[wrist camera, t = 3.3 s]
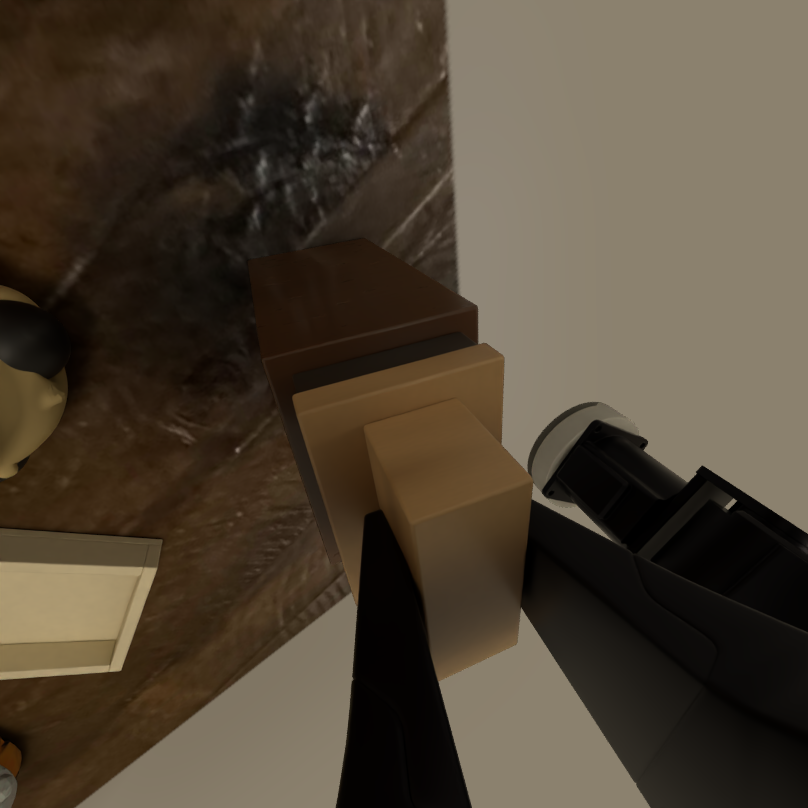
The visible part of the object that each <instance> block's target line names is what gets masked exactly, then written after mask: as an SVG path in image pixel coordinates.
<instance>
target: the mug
mask: <svg viewBox="0 0 808 808" xmlns="http://www.w3.org/2000/svg"><path fill="white" fill-rule="evenodd" d="M21 760H22V755H21V751H20V750H19V749H18V748H17V747H16V746H15V745H14V744H12V743H11V742H9V741H5V742H4V741H3V740H2V739H1V737H0V808H11V806H12V804H13V801H14V799H15V796H16V791H17V781H16V777H17V775H18V773H19V769H20V767H21V765H22V763H21Z"/></svg>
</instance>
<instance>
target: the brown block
mask: <svg viewBox="0 0 808 808" xmlns="http://www.w3.org/2000/svg"><path fill="white" fill-rule="evenodd" d="M247 263H248V270H249V277H250V285H251V292H252V299H253V306H254V313H255V320H256V327H257V334H258V341H259V348H260V355H261V361H262V364H263V367H264V370H265V373H266V376H267V379H268V382H269V385H270V388H271V391H272V394H273V397H274V400H275V402H276V405H277V408H278V411H279V414H280V417H281V420H282V423H283V426H284V429H285V432H286V435H287V438H288V441H289V443H290V446H291V449H292V452H293V455H294V458H295V461H296V464H297V467H298V470H299V473H300V476H301V479H302V481H303V484H304V487H305V490H306V493H307V496H308V499H309V502H310V505H311V508H312V511H313V514H314V517H315V520H316V522H317V525H318V528H319V531H320V534H321V537H322V540H323V543H324V546H325V549H326V552H327V555H328V558H329V561H330V563H331V564H332V565H335V564H337V563H340V562H342V559H341V556H340V553H339V550H338V546H337V543H336V540H335V537H334V534H333V530H332V527H331V524H330V521H329V518H328V515H327V511H326V508H325V505H324V502H323V499H322V495H321V492H320V489H319V486H318V483H317V479H316V476H315V473H314V470H313V467H312V464H311V460H310V457H309V454H308V451H307V448H306V444H305V441H304V438H303V435H302V432H301V428H300V425H299V422H298V419H297V416H296V412H295V408H294V404H293V399H292V397H293V395H294V394H296V389H295V386H294V382H293V378H292V376H293V375H294V374H297V373H301V372H305V371H309V370H313V369H317V368H321V367H325V366H328V365H332V364H336V363H340V362H344V361H348V360H352V359H356V358H359V357H363V356H367V355H371V354H375V353H379V352H383V351H387V350H390V349H394V348H398V347H402V346H406V345H410V344H414V343H418V342H421V341H425V340H429V339H433V338H437V337H441V336H445V335H449V334H452V333H456V332H462V333H463V334H464V335H466V336H467V337H468V338H470V339H471V340H472V341H474V342H475V343H476V344H478V307H477V305H475V304H473V303H472V302H470V301H468V300H466V299H465V298H463V297H462V296H460V295H458V294H457V293H455V292H453V291H452V290H450V289H448V288H447V287H445V286H443V285H442V284H440V283H438V282H437V281H435V280H433V279H432V278H430V277H428V276H427V275H425V274H424V273H422V272H420V271H419V270H417V269H415V268H414V267H412V266H410V265H409V264H407V263H405V262H404V261H402V260H400V259H399V258H397V257H395V256H394V255H392V254H390V253H389V252H387V251H385V250H384V249H382V248H380V247H379V246H377V245H375V244H374V243H372V242H370V241H369V240H367V239H365V238H362V239H357V240H351V241H346V242H340V243H335V244H330V245H324V246H319V247H314V248H308V249H303V250H298V251H292V252H287V253H282V254H276V255H271V256H266V257H260V258H255V259H250V260H248V261H247Z"/></svg>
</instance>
